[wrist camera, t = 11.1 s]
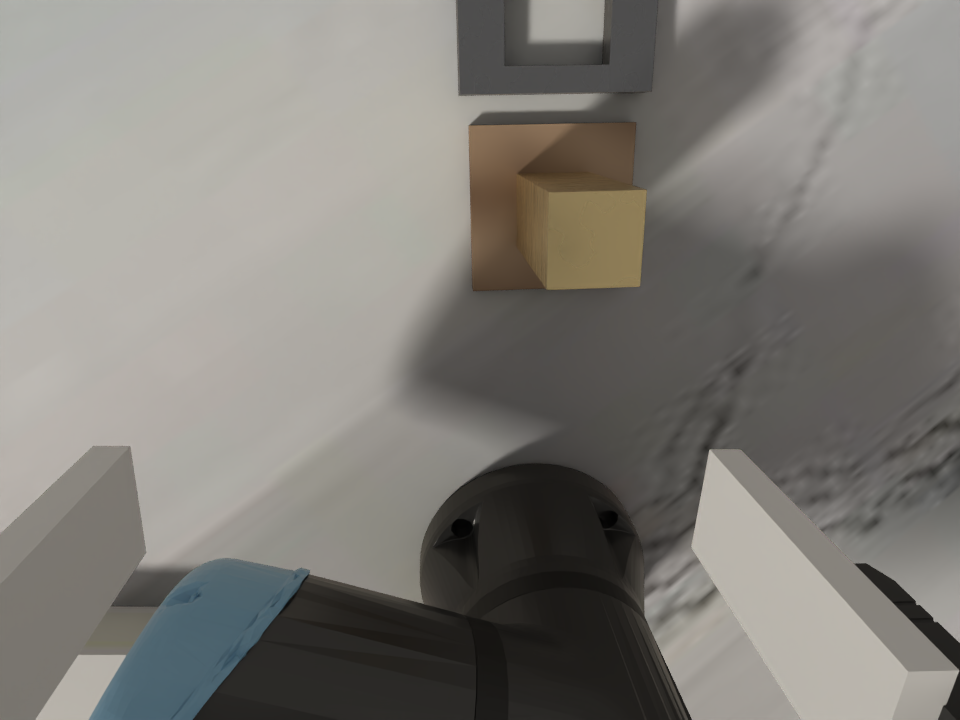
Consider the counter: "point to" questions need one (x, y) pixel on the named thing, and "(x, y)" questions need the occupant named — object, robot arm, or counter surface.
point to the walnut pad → (530, 151)
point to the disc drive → (96, 664)
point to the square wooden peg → (581, 229)
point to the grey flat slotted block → (620, 72)
